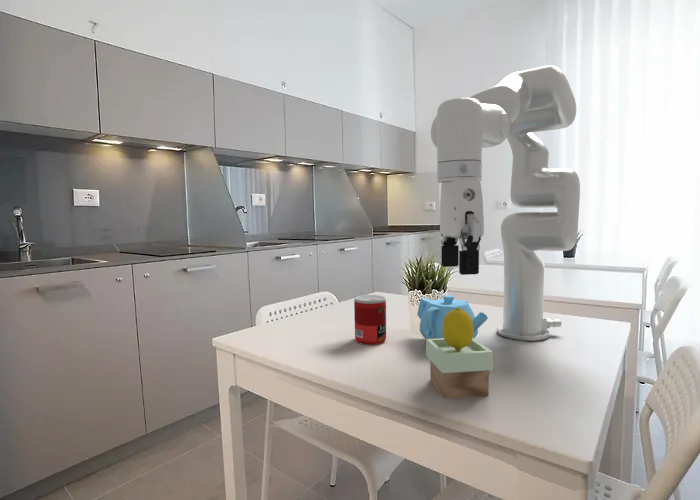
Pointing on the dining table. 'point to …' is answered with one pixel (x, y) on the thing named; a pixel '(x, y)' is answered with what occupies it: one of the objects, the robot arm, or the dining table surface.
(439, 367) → the sage top block
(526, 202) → the robot arm
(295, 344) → the dining table surface
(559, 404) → the dining table surface
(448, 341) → the lemon
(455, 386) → the walnut block
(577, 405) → the dining table surface
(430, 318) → the teapot
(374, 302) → the canned food
